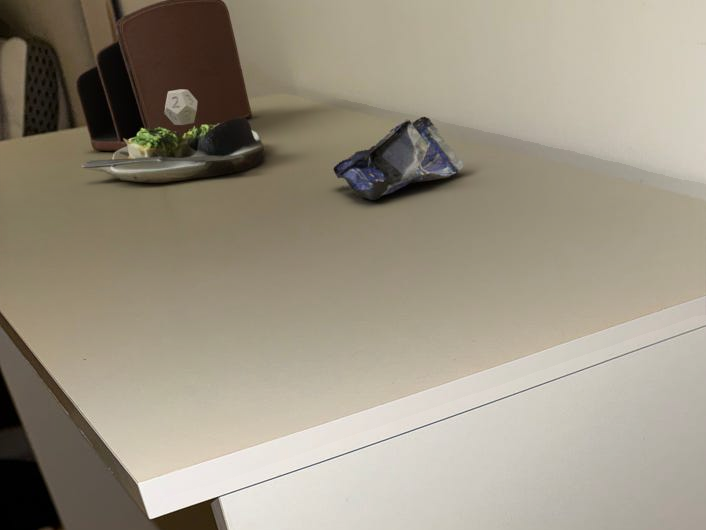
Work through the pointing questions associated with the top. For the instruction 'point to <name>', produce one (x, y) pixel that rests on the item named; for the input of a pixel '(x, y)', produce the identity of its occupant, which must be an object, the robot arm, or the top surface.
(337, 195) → the top surface
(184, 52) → the letter holder
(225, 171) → the salad plate
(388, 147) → the snack package
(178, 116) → the game die
